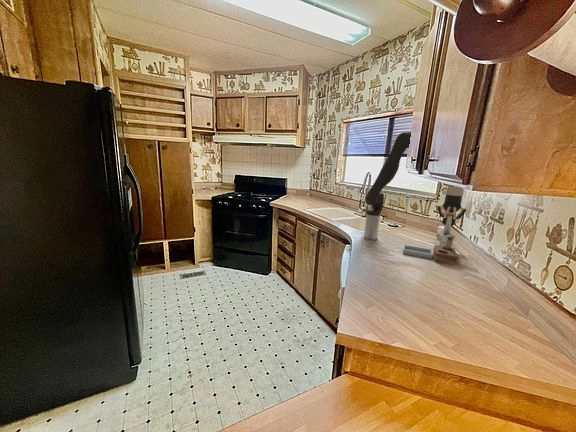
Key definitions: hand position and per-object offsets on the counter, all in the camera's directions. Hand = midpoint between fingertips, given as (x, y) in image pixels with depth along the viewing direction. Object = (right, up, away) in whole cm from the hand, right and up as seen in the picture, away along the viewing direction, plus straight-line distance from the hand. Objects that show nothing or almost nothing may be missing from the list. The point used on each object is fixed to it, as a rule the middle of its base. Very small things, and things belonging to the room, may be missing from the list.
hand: (448, 224), depth 135 cm
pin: (+6, -19, +10) cm, 23 cm away
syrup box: (+11, -16, +24) cm, 31 cm away
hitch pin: (0, -6, +1) cm, 6 cm away
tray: (-10, -18, +14) cm, 25 cm away
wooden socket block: (+3, -20, +8) cm, 21 cm away
